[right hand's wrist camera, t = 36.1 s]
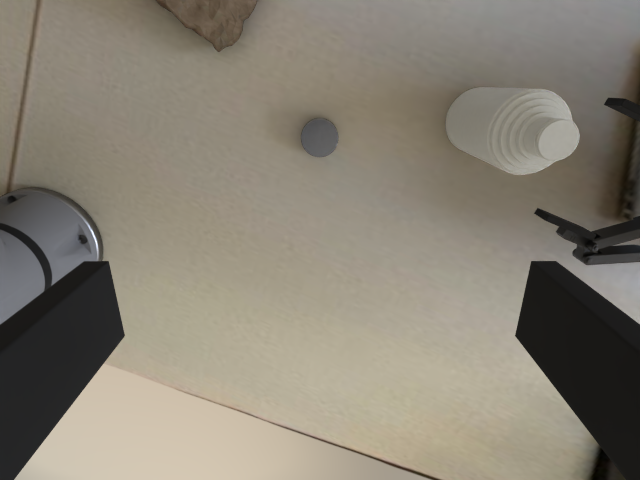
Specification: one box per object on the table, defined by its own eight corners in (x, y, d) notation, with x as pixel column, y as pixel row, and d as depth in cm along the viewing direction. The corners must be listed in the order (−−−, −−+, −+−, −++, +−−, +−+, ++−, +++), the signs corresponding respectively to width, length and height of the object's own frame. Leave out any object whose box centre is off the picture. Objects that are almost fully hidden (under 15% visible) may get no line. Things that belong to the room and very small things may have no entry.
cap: (305, 114, 49) (305, 115, 48) (341, 122, 50) (342, 123, 48) (298, 150, 51) (297, 152, 49) (333, 158, 51) (333, 160, 50)
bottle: (515, 89, 48) (622, 92, 31) (500, 154, 51) (591, 190, 34) (451, 85, 48) (523, 86, 31) (440, 150, 51) (500, 184, 34)
